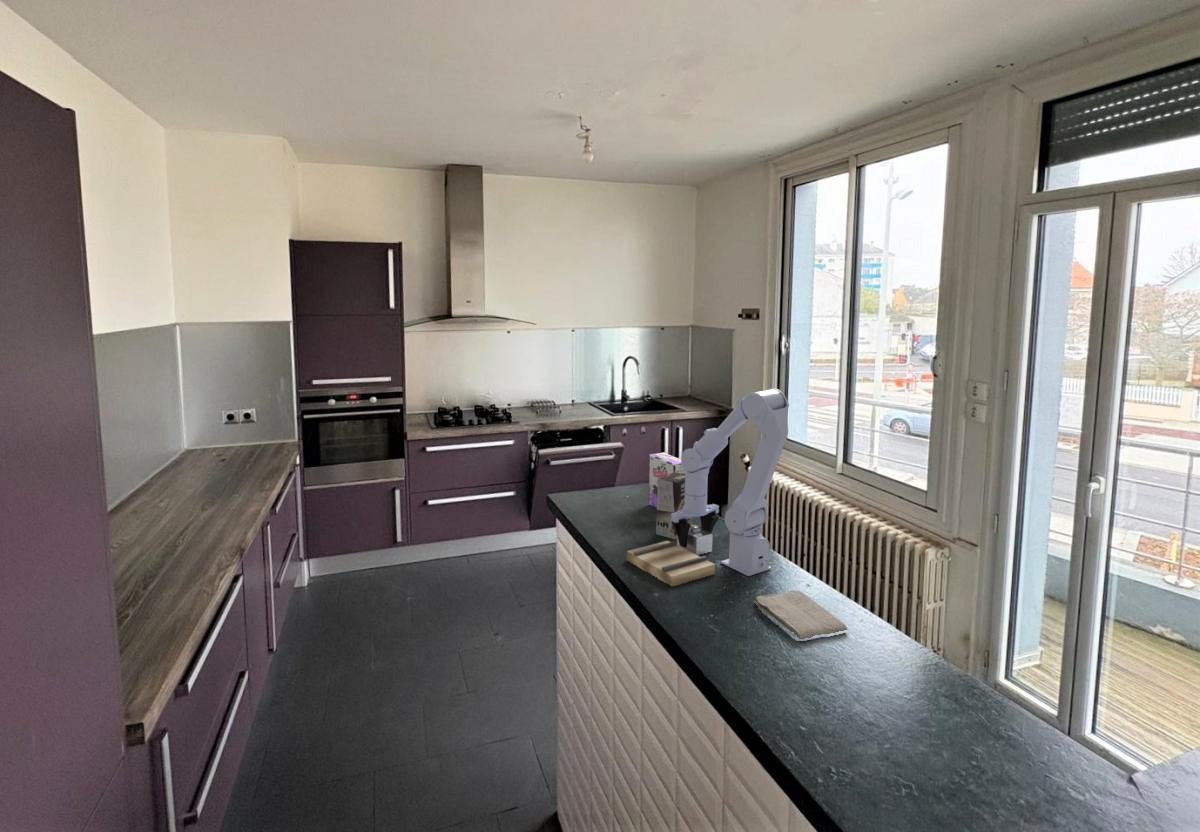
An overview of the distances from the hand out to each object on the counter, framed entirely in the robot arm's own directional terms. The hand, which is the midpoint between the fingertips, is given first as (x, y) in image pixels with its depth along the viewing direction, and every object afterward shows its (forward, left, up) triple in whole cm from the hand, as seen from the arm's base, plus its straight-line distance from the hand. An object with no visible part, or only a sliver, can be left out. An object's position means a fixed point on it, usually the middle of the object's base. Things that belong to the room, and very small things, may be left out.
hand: (694, 543), depth 180 cm
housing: (0, 0, -2) cm, 2 cm away
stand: (-6, +13, -1) cm, 14 cm away
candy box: (+28, -14, -2) cm, 32 cm away
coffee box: (+12, -3, -2) cm, 12 cm away
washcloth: (-41, +7, -2) cm, 42 cm away
